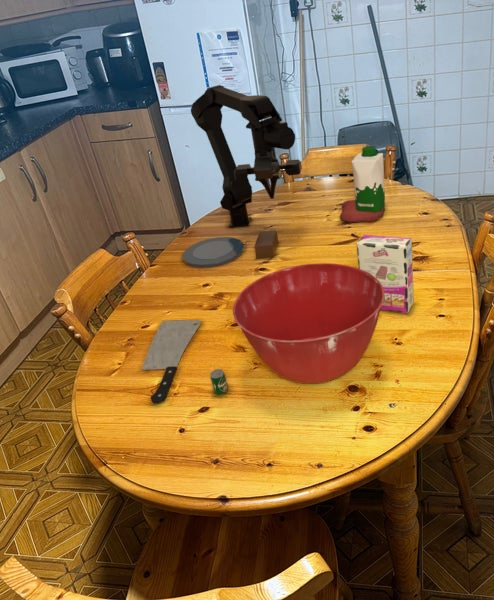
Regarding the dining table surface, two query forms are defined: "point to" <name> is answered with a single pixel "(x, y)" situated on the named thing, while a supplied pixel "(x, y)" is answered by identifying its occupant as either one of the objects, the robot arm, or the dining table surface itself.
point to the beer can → (219, 382)
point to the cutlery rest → (266, 244)
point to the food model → (358, 213)
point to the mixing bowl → (310, 319)
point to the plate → (213, 252)
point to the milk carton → (369, 180)
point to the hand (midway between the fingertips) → (272, 198)
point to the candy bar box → (389, 268)
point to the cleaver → (169, 351)
